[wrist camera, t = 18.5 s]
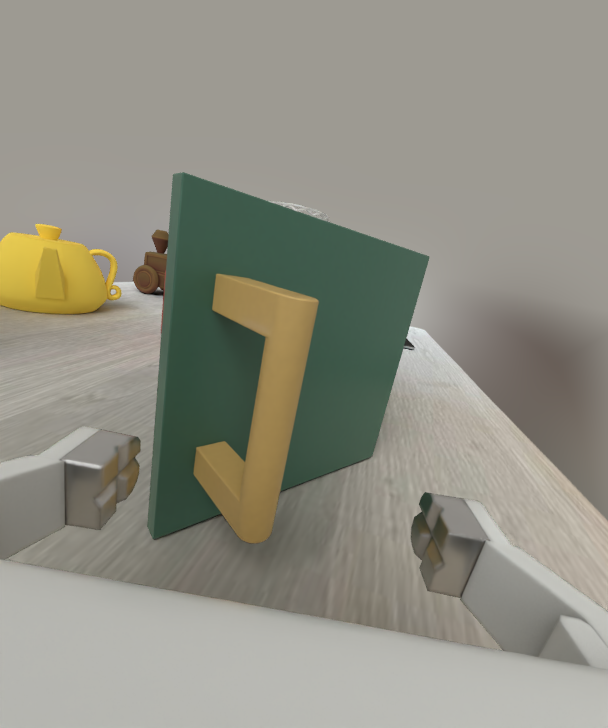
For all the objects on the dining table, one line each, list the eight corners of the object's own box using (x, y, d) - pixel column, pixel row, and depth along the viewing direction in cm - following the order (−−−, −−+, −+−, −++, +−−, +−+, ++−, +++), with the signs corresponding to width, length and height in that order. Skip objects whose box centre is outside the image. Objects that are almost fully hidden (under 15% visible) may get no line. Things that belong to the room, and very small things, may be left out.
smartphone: (386, 341, 82) (379, 330, 96) (385, 344, 82) (378, 333, 96) (415, 347, 81) (404, 336, 96) (415, 350, 81) (403, 338, 96)
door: (427, 494, 25) (508, 266, 20) (197, 636, 13) (264, 157, 8) (363, 450, 29) (417, 255, 25) (147, 526, 17) (172, 173, 13)
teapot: (-10, 290, 58) (-16, 212, 54) (114, 301, 69) (116, 236, 65) (-30, 317, 43) (-40, 211, 39) (132, 325, 54) (136, 243, 51)
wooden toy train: (219, 304, 92) (227, 241, 87) (197, 307, 81) (204, 235, 76) (156, 289, 95) (160, 228, 91) (127, 290, 84) (130, 220, 80)
